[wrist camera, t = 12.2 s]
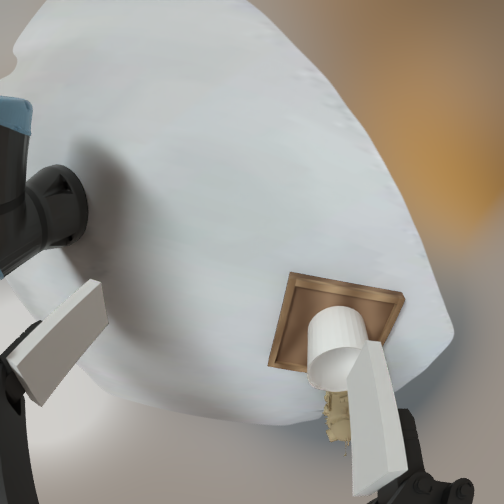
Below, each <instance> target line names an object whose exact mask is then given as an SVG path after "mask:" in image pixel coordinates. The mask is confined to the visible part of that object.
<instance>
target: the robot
mask: <svg viewBox="0 0 504 504" xmlns="http://www.w3.org/2000/svg"><path fill="white" fill-rule="evenodd" d="M324 399H325V401H326V402H327V403H328V405H327V404H326V405H325V407H324V413H322V414H324V415H327V416H328V418H326V419H327V425H328V428H330V429H328V430H326V433H327V434H328V436H329V439H330V442H333V441H336V440H340V441H345V442H346V441H348V444H347V445H348V446H349V442H350V441H349V440H351V428H350V414H349V402H348V391H341V392H330V391H326V395H325V396H324ZM344 456H346V454H345V455H344Z"/></svg>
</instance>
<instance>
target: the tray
mask: <svg viewBox="0 0 504 504" xmlns="http://www.w3.org/2000/svg"><path fill="white" fill-rule="evenodd" d="M404 301H405V298H404V296H403V294H402V292H397V291H391V290H386V289H380V288H375V287H369V286H364V285H358V284H353V283H347V282H342V281H337V280H331V279H326V278H321V277H315V276H310V275H305V274H299V273H294V272H290V274H289V278H288V282H287V287H286V291H285V295H284V300H283V304H282V308H281V312H280V316H279V320H278V324H277V328H276V332H275V336H274V340H273V344H272V348H271V352H270V356H269V361H268V366H270V367H275V368H281V369H286V370H292V371H299V372H305V373H307V357H308V326H309V323H310V321H311V320H312V318H313V317H314V316H315V315H316V314H317V313H319V312H320V311H322V310H324V309H326V308H329V307H333V306H345V307H349V308H352V309H354V310H356V311H357V312H358V313H359V314H360V315H361V316H362V318H363V320H364V323H365V327H366V331H367V335H368V339H369V340H370V341H378V342H381V345H382V346H383V345H384V343H385V341H386V339H387V337H388V335H389V333H390V331H391V329H392V327H393V325H394V323H395V321H396V319H397V317H398V315H399V312H400V310H401V308H402V306H403V304H404Z"/></svg>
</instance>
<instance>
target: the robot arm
mask: <svg viewBox="0 0 504 504" xmlns="http://www.w3.org/2000/svg"><path fill="white" fill-rule="evenodd" d="M32 112H33V109H32V105H31V103H30V102H29V101H27V100H25V99H21V98H15V97H7V96H0V280H2V279H3V278H4V277H5V276H6V275H8V274H9V273H11V272H12V271H13V270H15V269H16V268H17V267H19V266H20V265H22V264H23V263H25V262H26V261H27V260H29V259H30V258H32V257H33V256H35V255H36V254H38V253H39V252H41V251H43V250H47V249H54V248H61V247H66V246H68V245H70V244H72V243H74V242H75V241H77V240H78V239H79V238H80V237H81V236H82V234H83V233H84V231H85V228H86V224H87V218H88V208H87V201H86V196H85V193H84V190H83V187H82V185H81V183H80V181H79V180H78V178H77V177H76V175H75V174H74V173H73V172H72V171H71V170H70V169H68V168H67V167H65V166H63V165H52V166H48V167H45V168H43V169H41V170H40V171H38V172H37V173H36V174H35V175H34V176H32V177H31V178H30V179H29V180H28V181H27V182H26V167H27V155H28V146H29V139H30V136H31V120H32ZM108 324H109V323H108V318H107V313H106V307H105V302H104V296H103V290H102V284H101V282H99V281H96V280H93V279H89V280H88V281H87V282H86V283H85V284H84V285H82V286H81V287H80V288H79V289H78V290H77V291H75V292H74V293H73V294H72V295H71V296H70V297H69V298H68V299H66V300H65V301H64V302H63V303H62V304H61V305H60V306H59V307H58V308H56V309H55V310H54V311H53V312H52V313H51V314H50V315H49V316H48V317H47V318H46V319H45V320H44V321H41V320H39V321H37V322H35V323H34V324H32V325H31V326H30V327H29V328H27V329H26V330H25V332H23V333H22V334H21V335H20V337H19V338H17V339H16V340H15V341H14V342H13V343H12V344H11V345H10V346H9V347H8V348H7V349H6V350H5V351H4V352H3V353H2V354H1V355H0V504H39V502H38V498H37V494H36V490H35V485H34V480H33V475H32V469H31V463H30V457H29V449H28V441H27V431H26V417H25V399H24V396H23V394H24V393H25V392H26V393H27V394H28V396H29V398H30V399H31V400H32V401H34V402H35V403H37V404H38V405H39V406H41V407H42V406H43V404H44V403H45V402H46V401H47V399H48V398H49V397H50V395H51V394H52V393H53V391H54V390H55V389H56V387H57V386H58V385H59V383H60V382H61V381H62V380H63V378H64V377H65V376H66V375H67V373H68V372H69V371H70V370H71V368H72V367H73V366H74V364H75V363H76V362H77V361H78V360H79V358H80V357H81V356H82V355H83V353H84V352H85V351H86V350H87V349H88V347H89V346H90V345H91V344H92V343H93V341H94V340H95V339H96V338H97V337H98V335H99V334H100V333H101V332H102V331H103V330H104V328H105V327H106V326H107V325H108ZM346 380H347V391H348V402H349V414H350V428H351V444H352V445H351V446H352V476H353V496H366V495H372V494H373V493H375V492H376V491H378V497H377V498H375V499H374V500H372V501H370V502H369V503H367V504H472V501H473V497H474V486H473V484H472V482H471V481H470V480H469V479H467V478H460V479H458V480H456V481H455V482H453V483H447V482H440V481H435V480H434V479H433V477H432V476H431V475H430V474H428V473H426V472H425V469H424V465H423V460H422V454H421V448H420V444H419V439H418V434H417V431H416V425H415V421H414V417H413V416H412V414H411V413H410V411H409V410H408V409H397V405H396V400H395V396H394V391H393V387H392V383H391V379H390V375H389V371H388V367H387V363H386V359H385V356H384V352H383V348H382V345H381V342H378V341H370V340H366V341H365V344H364V346H363V348H362V350H361V352H360V354H359V356H358V358H357V359H356V361H355V363H354V365H353V367H352V369H351V371H350V373H349V375H348V376H347V378H346Z"/></svg>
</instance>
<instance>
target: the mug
mask: <svg viewBox="0 0 504 504" xmlns="http://www.w3.org/2000/svg"><path fill="white" fill-rule="evenodd" d="M366 340H369V339H368V335H367V331H366V327H365V323H364V320H363V318H362V316H361V315H360V314H359V313H358V312H357V311H356V310H354V309H352V308H349V307H345V306H333V307H329V308H326V309H324V310H322V311H320V312H319V313H317V314H316V315H315V316H314V317H313V318H312V320H311V321H310V323H309V326H308V357H307V378H308V381H309V383H310V385H312V386H313V387H314V388H316V389H319V390H320V389H321V390H325V391H330V392H341V391H347V380H346V378H347V376H348V375H349V373H350V371H351V369H352V367H353V365H354V363H355V361H356V359H357V358H358V356H359V354H360V352H361V350H362V348H363V346H364V344H365V341H366Z"/></svg>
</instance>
